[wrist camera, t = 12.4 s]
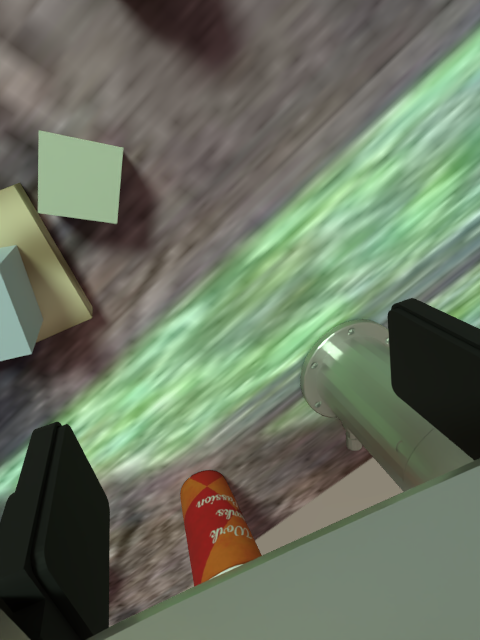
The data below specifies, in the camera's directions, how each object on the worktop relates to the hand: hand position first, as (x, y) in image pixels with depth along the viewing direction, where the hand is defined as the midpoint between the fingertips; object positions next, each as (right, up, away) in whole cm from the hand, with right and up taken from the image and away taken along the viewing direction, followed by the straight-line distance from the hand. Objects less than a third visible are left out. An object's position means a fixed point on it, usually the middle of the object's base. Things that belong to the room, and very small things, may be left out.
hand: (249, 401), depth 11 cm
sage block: (-12, +13, +19) cm, 27 cm away
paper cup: (-5, -18, +36) cm, 40 cm away
